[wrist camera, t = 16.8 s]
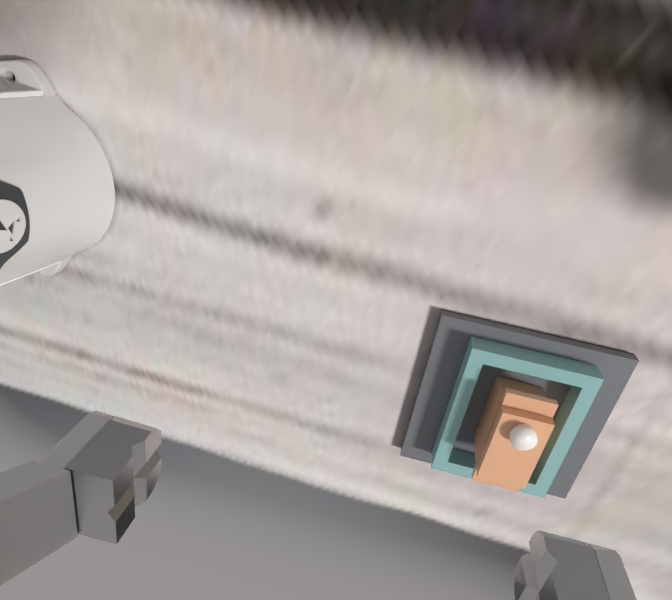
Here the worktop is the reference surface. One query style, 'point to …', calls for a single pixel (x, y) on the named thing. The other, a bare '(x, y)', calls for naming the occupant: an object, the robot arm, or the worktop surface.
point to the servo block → (512, 433)
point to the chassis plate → (523, 366)
